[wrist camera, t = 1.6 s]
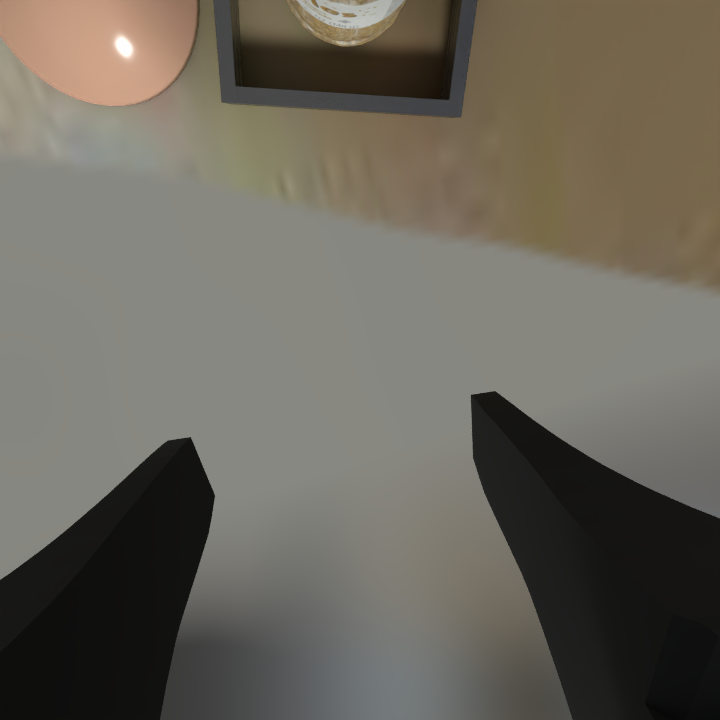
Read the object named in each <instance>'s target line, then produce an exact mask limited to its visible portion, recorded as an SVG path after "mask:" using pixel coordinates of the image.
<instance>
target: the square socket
mask: <svg viewBox="0 0 720 720" xmlns="http://www.w3.org/2000/svg"><path fill="white" fill-rule="evenodd" d="M476 6H477V0H452V9H451V17H450V25H449V34H448V42H447V51H446V59H445V67H444V76H443V84H442V93H441V100H439V99H424V98H408V97H393V96H377V95H362V94H346V93H331V92H315V91H300V90H284V89H269V88H253V87H243V75H242V58H241V42H240V25H239V8H238V0H214V12H215V24H216V37H217V49H218V62H219V74H220V87H221V99H222V102H223V103H228V104H240V105H256V106H272V107H288V108H304V109H321V110H337V111H353V112H369V113H385V114H401V115H418V116H434V117H450V118H454V117H461V113H462V106H463V99H464V92H465V85H466V78H467V71H468V63H469V56H470V49H471V42H472V35H473V28H474V21H475V13H476Z"/></svg>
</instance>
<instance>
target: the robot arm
mask: <svg viewBox="0 0 720 720" xmlns="http://www.w3.org/2000/svg"><path fill="white" fill-rule="evenodd" d="M471 410H472V437H473V438H472V439H473V459H474V462H475V465H476V468H477V472H478V475H479V478H480V481H481V484H482V487H483V490H484V493H485V495H486V497H487V499H488V502H489V504H490V506H491V508H492V511H493V513H494V515H495V517H496V519H497V521H498V523H499V526H500V528H501V530H502V532H503V534H504V536H505V539H506V541H507V542H508V545H509V547H510V549H511V551H512V554H513V556H514V558H515V560H516V562H517V564H518V566H519V568H520V571H521V573H522V575H523V578H524V580H525V583H526V585H527V587H528V590H529V592H530V595H531V598H532V600H533V603H534V606H535V609H536V612H537V615H538V617H539V620H540V623H541V626H542V629H543V632H544V634H545V637H546V640H547V643H548V646H549V649H550V652H551V655H552V658H553V661H554V664H555V667H556V670H557V673H558V676H559V678H560V681H561V685H562V688H563V691H564V694H565V697H566V700H567V703H568V706H569V709H570V713H571V715H572V719H573V720H720V518H717V517H715V516H712V515H710V514H707V513H705V512H702V511H699V510H697V509H695V508H692V507H690V506H687V505H685V504H683V503H681V502H678V501H676V500H674V499H671V498H669V497H667V496H665V495H662V494H660V493H658V492H655V491H653V490H651V489H649V488H647V487H645V486H643V485H641V484H639V483H637V482H634V481H633V480H631V479H629V478H627V477H625V476H623V475H621V474H619V473H617V472H615V471H614V470H612V469H610V468H608V467H606V466H604V465H602V464H601V463H599V462H597V461H595V460H594V459H592V458H590V457H588V456H587V455H585V454H584V453H582V452H581V451H579V450H577V449H576V448H574V447H572V446H571V445H569V444H568V443H566V442H565V441H563V440H561V439H560V438H558V437H557V436H555V435H554V434H553V433H551V432H550V431H548V430H547V429H545V428H544V427H542V426H541V425H540V424H538V423H537V422H535V421H534V420H533V419H531V418H530V417H528V416H527V415H526V414H525V413H523V412H522V411H521V410H519V409H518V408H517V407H515V406H514V405H513V404H511V403H510V402H509V401H508V400H506V399H505V398H503V397H502V396H501V395H500V394H498V393H497V392H495V391H494V392H487V393H480V394H474V395H471ZM214 498H215V495H214V492H213V490H212V488H211V485H210V483H209V480H208V478H207V475H206V473H205V471H204V468H203V466H202V463H201V461H200V458H199V456H198V454H197V451H196V449H195V446H194V444H193V442H192V439H191V437H189V438H182V439H176V440H170V441H167V442H165V443H164V444H163V445H162V446H161V447H159V448H158V449H157V450H156V451H155V452H153V453H152V454H151V455H150V456H149V457H148V458H147V459H146V460H145V461H144V462H142V463H141V464H140V465H139V466H138V467H137V468H136V469H135V470H134V471H133V472H132V473H131V474H129V475H128V476H127V477H126V478H125V479H124V480H123V481H122V482H121V483H120V484H119V485H117V486H116V487H115V488H114V489H113V490H112V491H111V492H110V493H109V494H108V495H107V496H106V497H104V498H103V499H102V500H101V501H100V502H99V503H98V504H96V505H95V506H94V507H93V508H92V509H91V510H89V511H88V512H87V513H86V514H85V515H84V516H83V517H81V518H80V519H79V520H78V521H77V522H75V523H74V524H73V525H72V526H71V527H70V528H68V529H67V530H66V531H65V532H64V533H62V534H61V535H60V536H59V537H57V538H56V539H55V540H54V541H53V542H51V543H50V544H49V545H47V546H46V547H45V548H44V549H42V550H41V551H40V552H38V553H37V554H36V555H34V556H33V557H32V558H30V559H29V560H28V561H26V562H25V563H23V564H22V565H21V566H20V567H18V568H17V569H15V570H14V571H13V572H11V573H10V574H8V575H7V576H5V577H4V578H2V579H1V580H0V720H160V716H161V711H162V705H163V700H164V695H165V689H166V684H167V679H168V674H169V670H170V665H171V660H172V655H173V651H174V646H175V642H176V638H177V634H178V631H179V626H180V623H181V620H182V616H183V613H184V610H185V607H186V604H187V601H188V598H189V594H190V591H191V588H192V585H193V582H194V579H195V575H196V572H197V569H198V566H199V563H200V559H201V556H202V553H203V550H204V547H205V543H206V540H207V537H208V533H209V528H210V523H211V518H212V511H213V505H214Z"/></svg>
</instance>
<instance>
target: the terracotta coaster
mask: <svg viewBox="0 0 720 720" xmlns="http://www.w3.org/2000/svg"><path fill="white" fill-rule="evenodd" d="M199 12H200V8H199V0H0V36H1V37H2V39H3V40H4V42H5V43H6V44H7V45H8V47H9V48H10V49H11V50H12V52H13V53H14V54H15V55H16V56H17V57H18V58H19V59H20V60H21V61H22V62H23V63H24V64H25V65H26V66H27V67H28V68H29V69H30V70H31V71H32V72H34V73H35V74H36V75H37V76H38V77H39V78H41V79H42V80H44V81H45V82H47V83H48V84H49V85H51V86H52V87H54V88H56V89H58V90H59V91H61V92H63V93H65V94H67V95H69V96H72V97H74V98H77V99H79V100H82V101H86V102H89V103H93V104H100V105H107V106H128V105H134V104H139V103H142V102H145V101H148V100H150V99H152V98H154V97H156V96H158V95H160V94H161V93H162V92H164V91H165V90H166V89H168V88H169V87H170V86H171V85H172V84H173V83H174V82H175V81H176V80H177V78H178V77H179V76H180V74H181V73H182V71H183V70H184V68H185V67H186V65H187V63H188V61H189V59H190V56H191V54H192V51H193V48H194V45H195V42H196V37H197V32H198V26H199Z"/></svg>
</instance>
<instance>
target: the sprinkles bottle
mask: <svg viewBox="0 0 720 720" xmlns="http://www.w3.org/2000/svg"><path fill="white" fill-rule="evenodd" d="M287 2H288V5H289V7H290V9H291V11H292V12H293V13H294V15H295V16H296V17H297V19H298V20H299V22H300V23H301V25H302V26H303V27H305V28H306V29H307V30H308V31H309V32H311V33H312V34H313V35H315V36H316V37H318V38H319V39H321V40H323V41H326V42H328V43H331V44H334V45H338V46H342V47H345V46H356V45H361V44H364V43H366V42H369V41H372V40H373V39H375V38H377V37H378V36H379V35H380V34H382V33H383V32H384V31H385V30H386V29H388V28H389V27H390V26H391V25H392V24H393V23H394V22H395V20H396V18H397V16H398V14H399V12H400V11H401V9H402V8H403V6H404V4H405V2H406V0H287Z"/></svg>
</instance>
